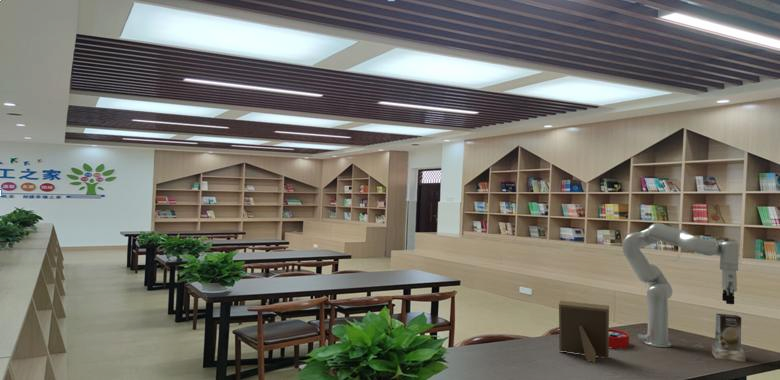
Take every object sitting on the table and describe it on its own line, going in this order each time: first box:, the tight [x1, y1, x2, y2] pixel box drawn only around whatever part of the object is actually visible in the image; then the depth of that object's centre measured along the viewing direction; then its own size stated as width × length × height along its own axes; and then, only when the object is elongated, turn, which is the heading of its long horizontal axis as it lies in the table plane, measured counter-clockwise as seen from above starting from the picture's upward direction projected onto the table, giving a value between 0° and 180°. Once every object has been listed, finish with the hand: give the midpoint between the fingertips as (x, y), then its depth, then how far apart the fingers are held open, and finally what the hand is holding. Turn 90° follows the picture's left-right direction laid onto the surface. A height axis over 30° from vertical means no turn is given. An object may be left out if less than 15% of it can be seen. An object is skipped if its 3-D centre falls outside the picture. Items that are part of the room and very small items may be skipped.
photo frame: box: [558, 300, 610, 363], centre depth 246 cm, size 15×22×25 cm
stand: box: [711, 344, 747, 363], centre depth 254 cm, size 12×11×4 cm
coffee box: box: [714, 313, 742, 351], centre depth 254 cm, size 9×6×16 cm
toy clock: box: [609, 328, 630, 349], centre depth 274 cm, size 20×6×20 cm
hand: (728, 302), depth 255 cm, fingers open, 9 cm apart
